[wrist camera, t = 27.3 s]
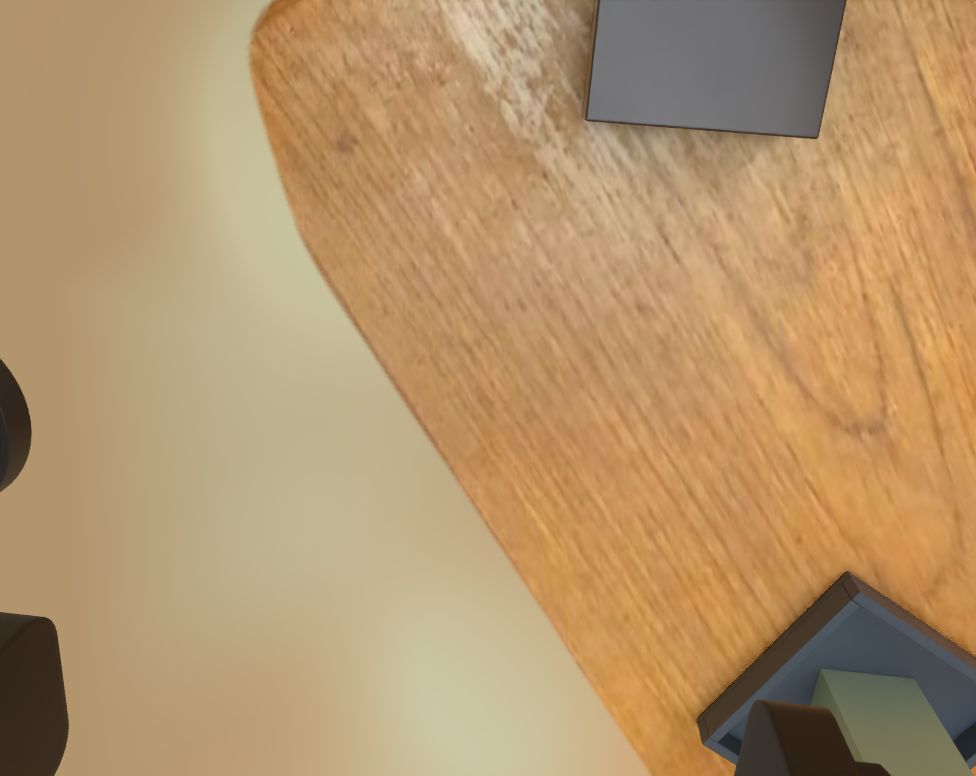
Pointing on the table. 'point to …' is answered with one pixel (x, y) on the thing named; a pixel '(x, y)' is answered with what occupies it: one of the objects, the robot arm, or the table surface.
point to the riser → (713, 64)
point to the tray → (851, 665)
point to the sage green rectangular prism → (889, 723)
